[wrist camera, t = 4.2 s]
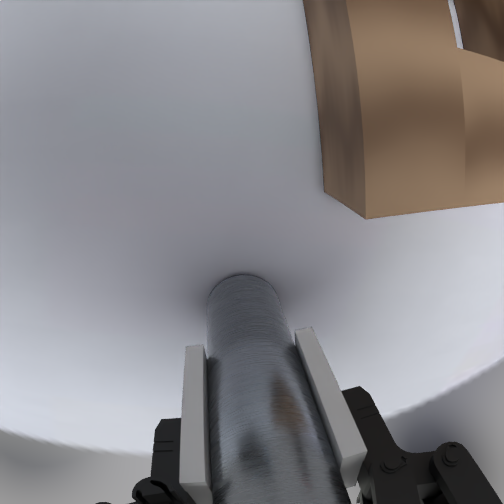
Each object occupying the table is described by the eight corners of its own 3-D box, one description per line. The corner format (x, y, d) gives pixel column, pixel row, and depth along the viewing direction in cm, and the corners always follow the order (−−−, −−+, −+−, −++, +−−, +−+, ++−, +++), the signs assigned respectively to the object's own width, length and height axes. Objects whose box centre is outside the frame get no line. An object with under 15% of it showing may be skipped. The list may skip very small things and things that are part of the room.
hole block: (277, -112, 9) (295, -157, 4) (476, -57, 10) (515, -72, 5) (324, 191, 16) (365, 219, 12) (513, 178, 17) (562, 196, 13)
